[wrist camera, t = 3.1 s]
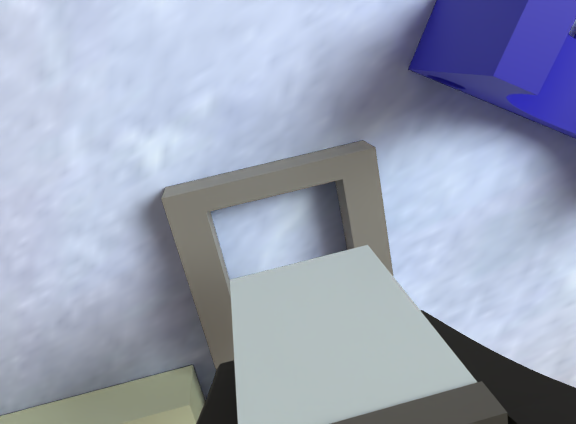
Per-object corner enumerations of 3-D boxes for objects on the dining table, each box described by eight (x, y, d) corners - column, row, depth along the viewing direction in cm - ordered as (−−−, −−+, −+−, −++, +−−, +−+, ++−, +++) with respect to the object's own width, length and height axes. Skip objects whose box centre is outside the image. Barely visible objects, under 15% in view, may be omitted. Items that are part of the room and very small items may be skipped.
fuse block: (398, 377, 22) (457, 483, 17) (239, 422, 22) (246, 545, 16) (363, 140, 18) (426, 177, 13) (165, 187, 18) (142, 247, 12)
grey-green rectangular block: (387, 359, 14) (516, 588, 8) (260, 394, 14) (294, 658, 8) (369, 242, 13) (508, 413, 7) (227, 278, 13) (237, 489, 7)
